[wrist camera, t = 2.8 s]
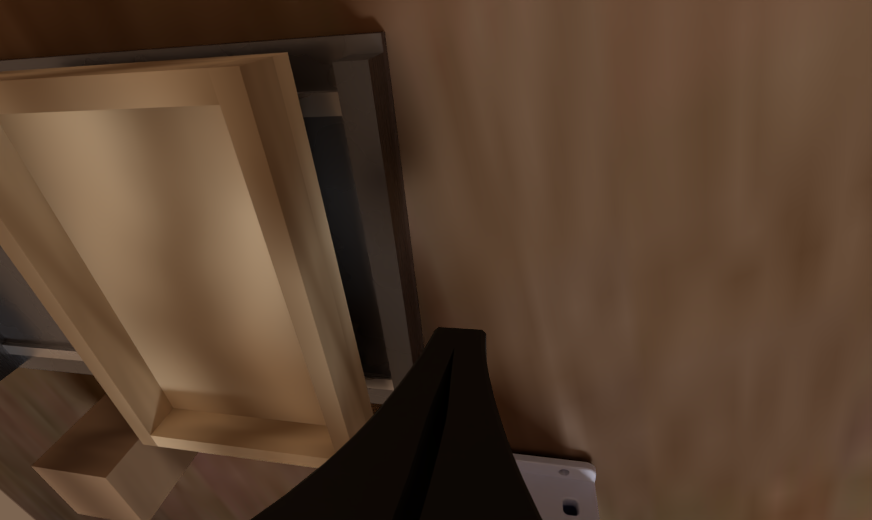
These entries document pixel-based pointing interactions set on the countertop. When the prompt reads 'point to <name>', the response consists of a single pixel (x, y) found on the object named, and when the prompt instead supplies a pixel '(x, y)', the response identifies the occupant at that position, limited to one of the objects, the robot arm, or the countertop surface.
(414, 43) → the countertop surface
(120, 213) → the shallow wooden tray
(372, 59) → the rail base
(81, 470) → the part block
